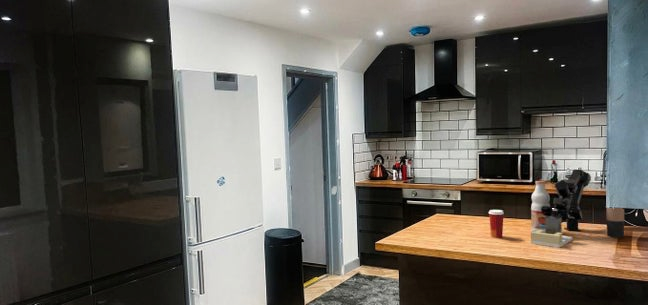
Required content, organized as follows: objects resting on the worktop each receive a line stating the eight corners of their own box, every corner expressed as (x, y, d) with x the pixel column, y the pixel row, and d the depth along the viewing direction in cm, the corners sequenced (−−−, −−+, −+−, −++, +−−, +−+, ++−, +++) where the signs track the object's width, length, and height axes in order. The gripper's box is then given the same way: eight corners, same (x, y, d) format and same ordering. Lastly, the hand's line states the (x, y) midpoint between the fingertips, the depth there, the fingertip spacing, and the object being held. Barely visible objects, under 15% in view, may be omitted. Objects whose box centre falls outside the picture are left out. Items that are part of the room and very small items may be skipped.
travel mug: (627, 238, 221) (627, 199, 220) (610, 238, 223) (610, 199, 222) (620, 234, 229) (620, 196, 228) (604, 234, 230) (603, 197, 229)
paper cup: (504, 235, 236) (504, 209, 235) (504, 238, 229) (503, 212, 228) (489, 234, 239) (488, 209, 238) (488, 237, 232) (487, 211, 231)
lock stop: (549, 235, 226) (548, 216, 225) (561, 236, 221) (561, 217, 221) (545, 237, 222) (545, 217, 222) (558, 238, 218) (558, 219, 217)
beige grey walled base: (545, 236, 231) (544, 225, 231) (572, 239, 222) (571, 229, 222) (530, 243, 218) (530, 232, 218) (559, 247, 209) (559, 236, 208)
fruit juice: (539, 228, 248) (539, 179, 247) (554, 232, 239) (553, 181, 238) (527, 230, 244) (527, 181, 243) (541, 234, 236) (541, 182, 235)
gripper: (541, 190, 235) (534, 214, 228) (580, 193, 222) (573, 218, 215) (547, 203, 241) (540, 226, 234) (585, 206, 228) (578, 231, 221)
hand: (557, 225), depth 226 cm, fingers closed
